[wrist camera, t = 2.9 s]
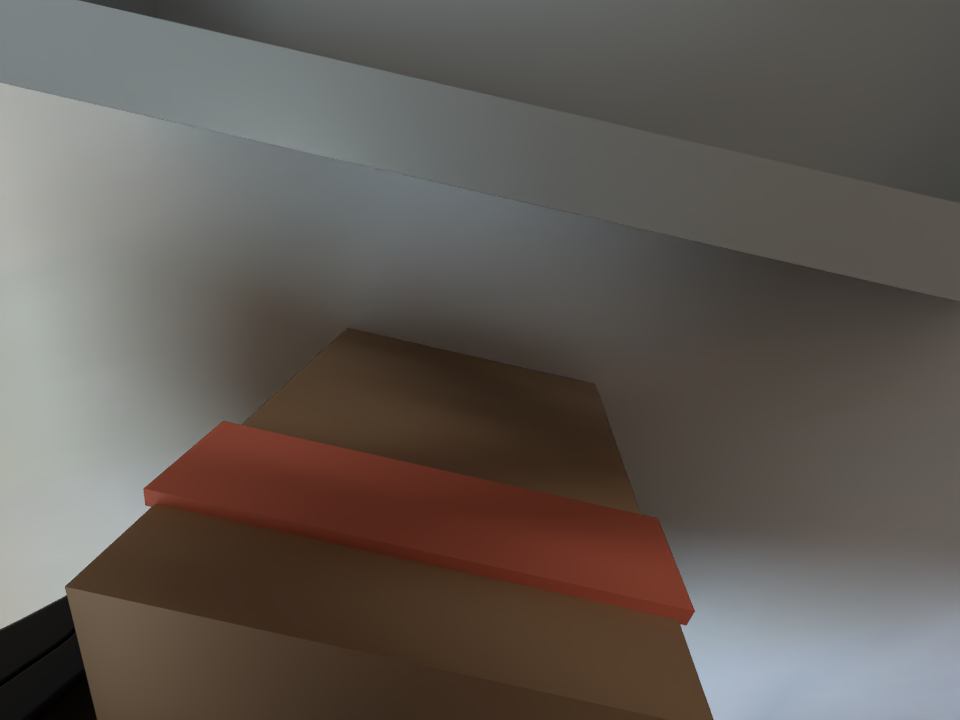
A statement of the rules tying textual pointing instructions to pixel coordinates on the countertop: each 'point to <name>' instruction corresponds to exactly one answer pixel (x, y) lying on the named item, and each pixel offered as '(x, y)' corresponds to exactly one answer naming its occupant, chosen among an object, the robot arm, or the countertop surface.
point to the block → (394, 559)
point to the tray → (571, 106)
